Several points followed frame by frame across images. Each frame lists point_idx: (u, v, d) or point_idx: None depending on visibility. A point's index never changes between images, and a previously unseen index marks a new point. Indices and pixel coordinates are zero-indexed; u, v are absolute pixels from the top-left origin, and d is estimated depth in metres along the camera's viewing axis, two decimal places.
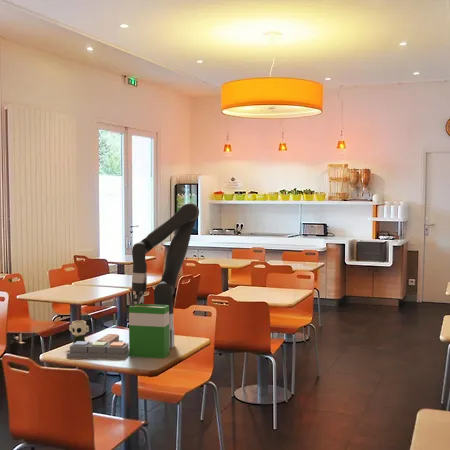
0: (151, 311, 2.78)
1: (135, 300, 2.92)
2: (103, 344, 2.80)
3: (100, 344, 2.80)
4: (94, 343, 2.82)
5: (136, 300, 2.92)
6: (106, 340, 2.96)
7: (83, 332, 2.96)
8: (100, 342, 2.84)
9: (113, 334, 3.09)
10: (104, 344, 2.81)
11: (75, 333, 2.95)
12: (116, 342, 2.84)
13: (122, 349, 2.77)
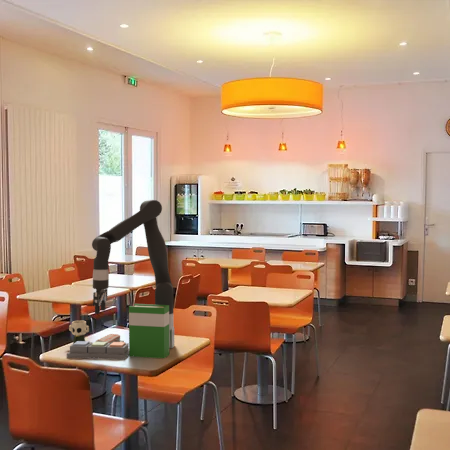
0: (151, 311, 2.78)
1: (95, 298, 2.76)
2: (103, 344, 2.80)
3: (100, 344, 2.80)
4: (94, 343, 2.82)
5: (96, 298, 2.76)
6: (106, 340, 2.96)
7: (83, 332, 2.96)
8: (100, 342, 2.84)
9: (114, 334, 3.09)
10: (104, 344, 2.81)
11: (75, 333, 2.95)
12: (116, 342, 2.84)
13: (122, 349, 2.77)
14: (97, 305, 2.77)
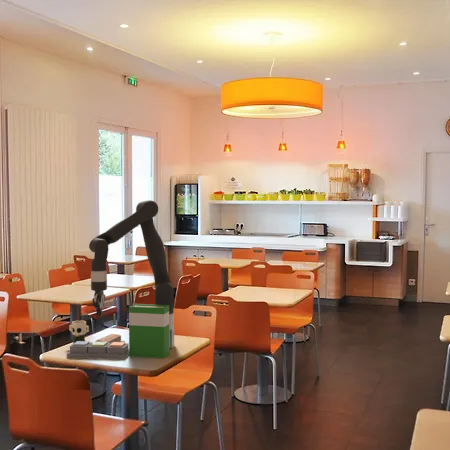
0: (151, 311, 2.78)
1: (95, 303, 2.77)
2: (103, 344, 2.80)
3: (100, 344, 2.80)
4: (94, 343, 2.82)
5: (96, 303, 2.77)
6: (105, 340, 2.96)
7: (83, 332, 2.96)
8: (100, 342, 2.84)
9: (115, 334, 3.08)
10: (104, 344, 2.81)
11: (75, 333, 2.95)
12: (116, 342, 2.84)
13: (122, 349, 2.77)
14: (98, 308, 2.80)
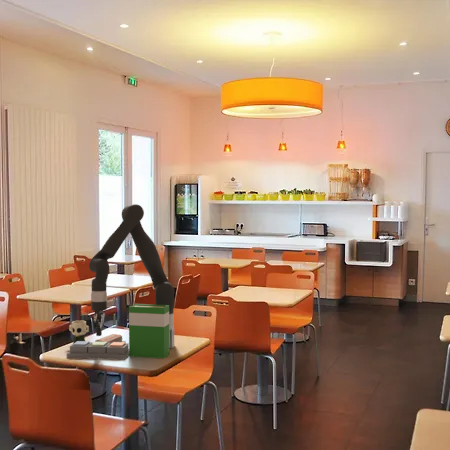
0: (151, 311, 2.78)
1: (95, 324, 2.78)
2: (103, 344, 2.80)
3: (100, 344, 2.80)
4: (94, 343, 2.82)
5: (96, 324, 2.78)
6: (105, 340, 2.96)
7: (83, 332, 2.96)
8: (100, 342, 2.84)
9: (116, 334, 3.08)
10: (104, 344, 2.81)
11: (75, 333, 2.95)
12: (116, 342, 2.84)
13: (122, 349, 2.77)
14: (98, 328, 2.81)
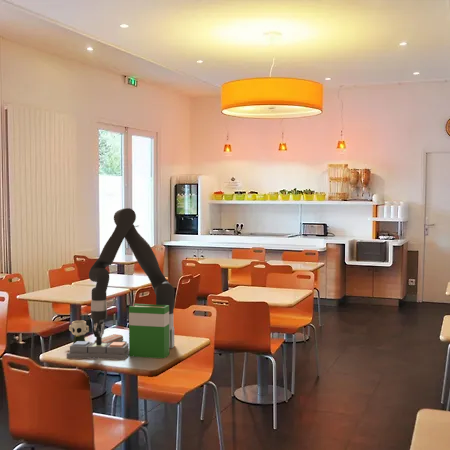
0: (151, 311, 2.78)
1: (95, 333, 2.78)
2: (103, 346, 2.80)
3: (100, 346, 2.80)
4: (94, 345, 2.82)
5: (96, 333, 2.78)
6: (104, 340, 2.96)
7: (83, 332, 2.96)
8: None
9: None
10: None
11: (75, 333, 2.95)
12: (116, 342, 2.84)
13: (122, 349, 2.77)
14: (98, 337, 2.81)
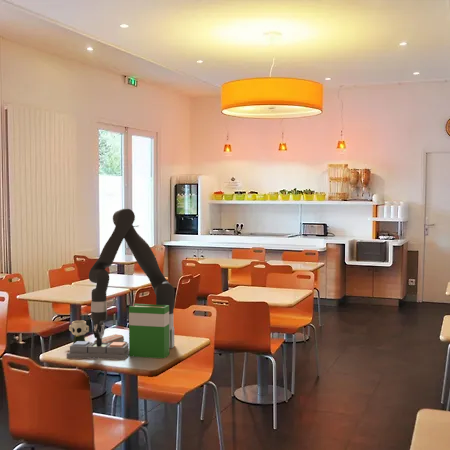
0: (151, 311, 2.78)
1: (96, 334, 2.78)
2: None
3: None
4: None
5: (97, 334, 2.78)
6: (104, 340, 2.96)
7: (83, 332, 2.96)
8: None
9: (118, 335, 3.07)
10: None
11: (75, 333, 2.95)
12: (116, 342, 2.84)
13: (122, 349, 2.77)
14: (99, 338, 2.81)
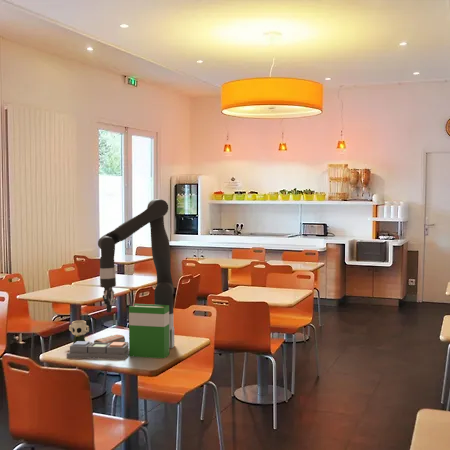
0: (151, 311, 2.78)
1: (106, 300, 2.83)
2: None
3: None
4: None
5: (107, 300, 2.83)
6: (103, 340, 2.96)
7: (83, 332, 2.96)
8: (100, 345, 2.84)
9: (119, 335, 3.07)
10: None
11: (75, 333, 2.95)
12: (116, 342, 2.84)
13: (122, 349, 2.77)
14: (108, 304, 2.85)
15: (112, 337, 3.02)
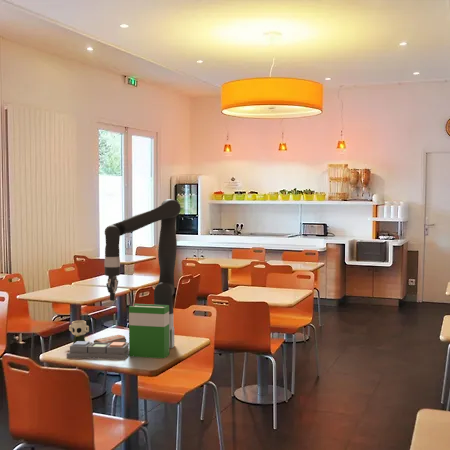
0: (151, 311, 2.78)
1: (109, 288, 2.86)
2: None
3: None
4: None
5: (110, 288, 2.86)
6: (103, 340, 2.96)
7: (83, 332, 2.96)
8: (100, 345, 2.84)
9: (120, 335, 3.06)
10: None
11: (75, 333, 2.95)
12: (116, 342, 2.84)
13: (122, 349, 2.77)
14: (112, 292, 2.88)
15: (112, 337, 3.02)
